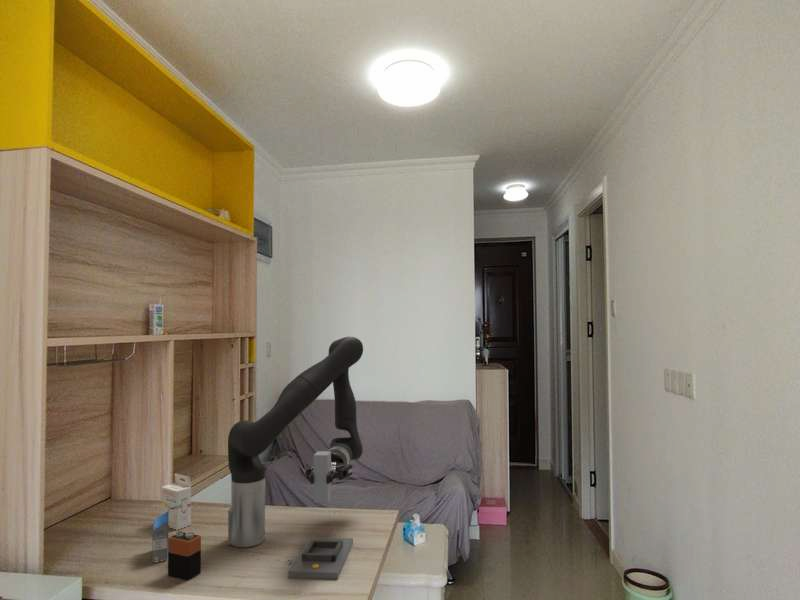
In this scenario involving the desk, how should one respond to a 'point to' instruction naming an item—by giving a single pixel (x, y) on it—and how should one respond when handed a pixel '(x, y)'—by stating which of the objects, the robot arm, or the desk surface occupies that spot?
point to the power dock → (321, 558)
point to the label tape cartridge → (160, 537)
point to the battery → (184, 555)
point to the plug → (322, 477)
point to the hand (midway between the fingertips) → (320, 479)
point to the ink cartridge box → (177, 502)
